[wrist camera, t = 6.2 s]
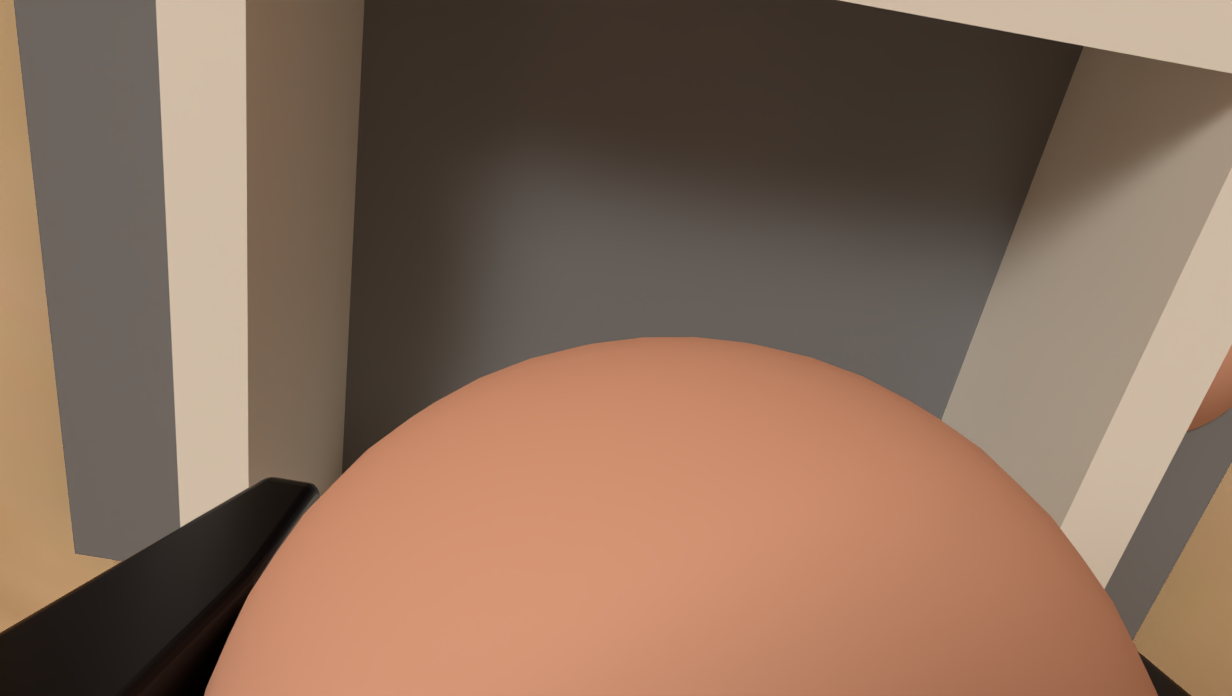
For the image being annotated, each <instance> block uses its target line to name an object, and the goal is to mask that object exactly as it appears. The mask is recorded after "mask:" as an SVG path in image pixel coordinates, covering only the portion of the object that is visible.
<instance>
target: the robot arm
mask: <svg viewBox="0 0 1232 696" xmlns="http://www.w3.org/2000/svg"><path fill="white" fill-rule="evenodd" d="M319 498H320V493H319V490H318V488H317V487H316V486H315V485H314V484H312V483H308V482H302V481H296V480H290V479H284V478H278V477H268V478H265V479H263V480H260V481H259V482H257V483H255V484H254V485H252V486H250V487H248V488H247V489H245V490H243V491H242V492H240V493H238V494H236V495H235V496H233V497H231V498H230V499H228V500H226V501H225V502H223V503H221V504H219V505H218V506H216V507H214V508H213V509H211V510H209V511H207V512H206V513H204V514H202V515H201V516H199V517H197V518H196V519H194V520H192V521H190V522H189V523H187V524H185V525H184V526H182V527H180V528H178V529H177V530H175V531H173V532H172V533H170V534H168V535H167V536H165V537H163V538H161V539H160V540H158V541H156V542H155V543H153V544H151V545H149V546H148V547H146V548H144V549H143V550H141V551H139V552H137V553H136V554H134V555H132V556H131V557H129V558H127V559H126V560H124V561H122V562H120V563H119V564H117V565H115V566H114V567H112V568H110V569H108V570H107V571H105V572H103V573H102V574H100V575H98V576H97V577H95V578H93V579H91V580H90V581H88V582H86V583H85V584H83V585H81V586H79V587H78V588H76V589H74V590H73V591H71V592H69V593H67V594H66V595H64V596H62V597H61V598H59V599H57V600H56V601H54V602H52V603H50V604H49V605H47V606H45V607H44V608H42V609H40V610H38V611H37V612H35V613H33V614H32V615H30V616H28V617H27V618H25V619H23V620H21V621H20V622H18V623H16V624H15V625H13V626H11V627H9V628H8V629H6V630H4V631H3V632H1V633H0V696H204V694H205V690H206V687H207V685H208V683H209V680H210V678H211V676H212V673H213V671H214V669H215V667H216V664H217V662H218V660H219V657H220V655H221V653H222V650H223V648H224V646H225V643H226V641H227V639H228V637H229V635H230V632H231V630H232V628H233V626H234V624H235V622H236V620H237V618H238V616H239V614H240V611H241V609H242V607H243V605H244V603H245V601H246V599H247V597H248V595H249V593H250V592H251V590H252V589H253V587H254V586H255V584H256V583H257V581H258V579H259V578H260V576H261V575H262V573H263V572H264V570H265V569H266V567H267V566H268V564H269V563H270V561H271V560H272V558H273V556H274V555H275V553H276V552H277V551H278V549H279V548H280V546H281V545H282V544H283V542H284V541H285V540H286V538H287V537H288V535H289V534H290V533H291V531H292V530H293V528H294V527H295V526H296V524H297V523H298V522H299V520H300V519H301V517H302V516H303V515H304V513H305V512H306V511H307V510H308V509H309V508H310V507H311V506H312V505H313V504H314V503H315V502H316V501H317V500H318V499H319ZM1138 653H1139V652H1138ZM1139 655H1140V658H1141V660H1142V662H1143V664H1144V666H1145V668H1146V670H1147V673H1148V675H1149V677H1150V679H1151V681H1152V683H1153V685H1154V688H1155V690H1156V692H1157V694H1158V696H1191V695H1189V694H1188V693H1187V692H1186V691H1185V690H1183V689H1182V688H1181V687H1180V686H1179V685H1177V684H1176V683H1175V682H1174V681H1173V680H1171V679H1170V678H1169V677H1168V676H1167V675H1165V674H1164V673H1163V672H1162V671H1161V670H1159V669H1158V668H1157V667H1156V666H1155V665H1153V664H1152V663H1151V662H1150V661H1149V660H1147V659H1146V658H1145V657H1144V656H1143V655H1141V654H1140V653H1139Z"/></svg>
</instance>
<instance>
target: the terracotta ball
mask: <svg viewBox="0 0 1232 696" xmlns="http://www.w3.org/2000/svg"><path fill="white" fill-rule="evenodd" d="M204 696H1158V694H1157V692H1156V690H1155V688H1154V685H1153V683H1152V681H1151V679H1150V677H1149V675H1148V673H1147V670H1146V668H1145V666H1144V664H1143V662H1142V660H1141V658H1140V655H1139V653H1138V651H1137V649H1136V647H1135V645H1134V643H1133V641H1132V639H1131V637H1130V635H1129V633H1128V631H1127V629H1126V627H1125V625H1124V623H1123V621H1122V619H1121V617H1120V615H1119V613H1118V611H1117V609H1116V607H1115V605H1114V603H1113V601H1112V600H1111V598H1110V597H1109V595H1108V594H1107V593H1106V591H1105V590H1104V588H1103V587H1102V585H1101V584H1100V582H1099V581H1098V580H1097V578H1096V577H1095V575H1094V574H1093V572H1092V571H1091V569H1090V568H1089V567H1088V565H1087V564H1086V562H1085V561H1084V559H1083V558H1082V557H1081V555H1080V554H1079V553H1078V551H1077V550H1076V549H1075V547H1074V546H1073V545H1072V543H1071V542H1070V541H1069V539H1068V538H1067V537H1066V535H1065V534H1064V533H1063V531H1062V530H1061V529H1060V527H1059V526H1058V525H1057V523H1056V522H1055V521H1054V519H1053V518H1052V517H1051V516H1050V515H1049V514H1048V513H1047V512H1046V511H1045V510H1044V509H1043V508H1042V507H1041V506H1040V505H1039V504H1038V503H1037V502H1036V501H1035V500H1034V499H1033V498H1032V497H1031V496H1030V495H1029V494H1028V493H1027V492H1026V491H1025V490H1024V489H1023V488H1022V487H1021V486H1020V485H1019V484H1018V483H1017V482H1016V481H1015V480H1014V479H1013V478H1011V477H1010V476H1009V475H1008V474H1007V473H1006V472H1005V471H1004V470H1003V469H1002V468H1001V467H1000V466H999V465H998V464H997V463H996V462H995V461H994V460H993V459H992V458H991V457H990V456H988V455H987V454H986V453H985V452H984V451H983V450H982V449H981V448H979V447H978V446H977V445H975V444H974V443H972V442H971V441H970V440H968V439H967V438H965V437H964V436H962V435H961V434H960V433H958V432H957V431H955V430H954V429H953V428H951V427H950V426H948V425H947V424H946V423H944V422H943V421H941V420H940V419H938V418H937V417H935V416H934V415H932V414H931V413H929V412H927V411H926V410H924V409H922V408H921V407H919V406H918V405H916V404H914V403H913V402H911V401H909V400H908V399H906V398H904V397H902V396H900V395H898V394H896V393H894V392H892V391H890V390H888V389H886V388H884V387H882V386H881V385H879V384H877V383H875V382H873V381H871V380H869V379H867V378H865V377H863V376H861V375H858V374H855V373H853V372H850V371H847V370H844V369H842V368H839V367H836V366H833V365H831V364H828V363H825V362H822V361H820V360H817V359H814V358H811V357H808V356H803V355H799V354H795V353H790V352H786V351H782V350H777V349H773V348H769V347H765V346H760V345H756V344H751V343H745V342H736V341H727V340H718V339H709V338H700V337H642V338H634V339H625V340H617V341H609V342H601V343H593V344H588V345H583V346H579V347H575V348H571V349H567V350H563V351H559V352H555V353H551V354H547V355H543V356H539V357H535V358H531V359H528V360H525V361H523V362H520V363H517V364H515V365H512V366H509V367H507V368H504V369H502V370H499V371H496V372H494V373H491V374H488V375H486V376H483V377H481V378H479V379H477V380H475V381H473V382H471V383H469V384H467V385H466V386H464V387H462V388H460V389H458V390H456V391H455V392H453V393H451V394H449V395H447V396H445V397H443V398H442V399H440V400H438V401H436V402H434V403H433V404H431V405H430V406H428V407H427V408H425V409H424V410H422V411H420V412H419V413H417V414H416V415H414V416H413V417H411V418H410V419H408V420H407V421H406V422H404V423H403V424H402V425H400V426H399V427H397V428H396V429H395V430H393V431H392V432H391V433H389V434H388V435H387V436H385V437H384V438H382V439H381V440H380V441H378V442H377V443H376V444H374V445H373V446H372V447H370V448H369V449H368V450H367V451H365V452H364V453H363V454H362V455H361V456H360V457H359V458H358V459H357V460H356V461H355V462H354V463H353V464H352V465H351V466H350V467H349V468H348V469H347V470H346V471H345V472H344V473H343V474H342V475H341V476H340V477H339V478H338V479H337V480H336V481H335V482H334V483H333V484H332V485H331V486H330V487H329V489H328V490H327V491H326V492H325V493H324V494H323V495H322V496H321V497H320V498H319V499H318V500H317V501H316V502H315V503H314V504H313V505H312V506H311V507H310V508H309V509H308V510H307V511H306V512H305V513H304V515H303V516H302V517H301V519H300V520H299V522H298V523H297V524H296V526H295V527H294V528H293V530H292V531H291V533H290V534H289V535H288V537H287V538H286V540H285V541H284V542H283V544H282V545H281V546H280V548H279V549H278V551H277V552H276V553H275V555H274V556H273V558H272V560H271V561H270V563H269V564H268V566H267V567H266V569H265V570H264V572H263V573H262V575H261V576H260V578H259V579H258V581H257V583H256V584H255V586H254V587H253V589H252V590H251V592H250V593H249V595H248V597H247V599H246V601H245V603H244V605H243V607H242V609H241V611H240V614H239V616H238V618H237V620H236V622H235V624H234V626H233V628H232V630H231V632H230V635H229V637H228V639H227V641H226V643H225V646H224V648H223V650H222V653H221V655H220V657H219V660H218V662H217V664H216V667H215V669H214V671H213V673H212V676H211V678H210V680H209V683H208V685H207V687H206V690H205V694H204Z"/></svg>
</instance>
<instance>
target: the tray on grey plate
mask: <svg viewBox="0 0 1232 696" xmlns="http://www.w3.org/2000/svg"><path fill="white" fill-rule="evenodd" d="M14 8H15V17H16V26H17V35H18V44H19V53H20V62H21V71H22V80H23V89H24V98H25V107H26V116H27V125H28V134H29V143H30V152H31V161H32V170H33V179H34V188H35V197H36V206H37V215H38V224H39V233H40V242H41V251H42V260H43V269H44V278H45V287H46V297H47V306H48V315H49V324H50V333H51V342H52V351H53V360H54V369H55V378H56V387H57V396H58V405H59V414H60V423H61V432H62V441H63V450H64V459H65V468H66V477H67V486H68V495H69V504H70V513H71V522H72V531H73V540H74V549H75V554H81V555H87V556H94V557H100V558H106V559H112V560H118V561H124V560H126V559H127V558H129V557H131V556H132V555H134V554H136V553H137V552H139V551H141V550H143V549H144V548H146V547H148V546H149V545H151V544H153V543H155V542H156V541H158V540H160V539H161V538H163V537H165V536H167V535H168V534H170V533H172V532H173V531H175V530H177V529H178V528H180V527H182V526H184V525H185V524H187V523H189V522H190V521H192V520H194V519H196V518H197V517H199V516H201V515H202V514H204V513H206V512H207V511H209V510H211V509H213V508H214V507H216V506H218V505H219V504H221V503H223V502H225V501H226V500H228V499H230V498H231V497H233V496H235V495H236V494H238V493H240V492H242V491H243V490H245V489H247V488H248V487H250V486H252V485H254V484H255V483H257V482H259V481H260V480H263V479H265V478H268V477H278V478H284V479H290V480H296V481H302V482H308V483H312V484H314V485H315V486H316V487H317V488H318V490H319V493H320V497H321V496H322V495H323V494H324V493H325V492H326V491H327V490H328V489H329V487H330V486H331V485H332V484H333V483H334V482H335V481H336V480H337V479H338V478H339V477H340V476H341V475H342V474H343V473H344V472H345V471H346V470H347V469H348V468H349V467H350V466H351V465H352V464H353V463H354V462H355V461H356V460H357V459H358V458H359V457H360V456H361V455H362V454H363V453H364V452H365V451H367V450H368V449H369V448H370V447H372V446H373V445H374V444H376V443H377V442H378V441H380V440H381V439H382V438H384V437H385V436H387V435H388V434H389V433H391V432H392V431H393V430H395V429H396V428H397V427H399V426H400V425H402V424H403V423H404V422H406V421H407V420H408V419H410V418H411V417H413V416H414V415H416V414H417V413H419V412H420V411H422V410H424V409H425V408H427V407H428V406H430V405H431V404H433V403H434V402H436V401H438V400H440V399H442V398H443V397H445V396H447V395H449V394H451V393H453V392H455V391H456V390H458V389H460V388H462V387H464V386H466V385H467V384H469V383H471V382H473V381H475V380H477V379H479V378H481V377H483V376H486V375H488V374H491V373H494V372H496V371H499V370H502V369H504V368H507V367H509V366H512V365H515V364H517V363H520V362H523V361H525V360H528V359H531V358H535V357H539V356H543V355H547V354H551V353H555V352H559V351H563V350H567V349H571V348H575V347H579V346H583V345H588V344H593V343H601V342H609V341H617V340H625V339H634V338H642V337H700V338H709V339H718V340H727V341H736V342H745V343H751V344H756V345H760V346H765V347H769V348H773V349H777V350H782V351H786V352H790V353H795V354H799V355H803V356H808V357H811V358H814V359H817V360H820V361H822V362H825V363H828V364H831V365H833V366H836V367H839V368H842V369H844V370H847V371H850V372H853V373H855V374H858V375H861V376H863V377H865V378H867V379H869V380H871V381H873V382H875V383H877V384H879V385H881V386H882V387H884V388H886V389H888V390H890V391H892V392H894V393H896V394H898V395H900V396H902V397H904V398H906V399H908V400H909V401H911V402H913V403H914V404H916V405H918V406H919V407H921V408H922V409H924V410H926V411H927V412H929V413H931V414H932V415H934V416H935V417H937V418H938V419H940V420H941V421H943V422H944V423H946V424H947V425H948V426H950V427H951V428H953V429H954V430H955V431H957V432H958V433H960V434H961V435H962V436H964V437H965V438H967V439H968V440H970V441H971V442H972V443H974V444H975V445H977V446H978V447H979V448H981V449H982V450H983V451H984V452H985V453H986V454H987V455H988V456H990V457H991V458H992V459H993V460H994V461H995V462H996V463H997V464H998V465H999V466H1000V467H1001V468H1002V469H1003V470H1004V471H1005V472H1006V473H1007V474H1008V475H1009V476H1010V477H1011V478H1013V479H1014V480H1015V481H1016V482H1017V483H1018V484H1019V485H1020V486H1021V487H1022V488H1023V489H1024V490H1025V491H1026V492H1027V493H1028V494H1029V495H1030V496H1031V497H1032V498H1033V499H1034V500H1035V501H1036V502H1037V503H1038V504H1039V505H1040V506H1041V507H1042V508H1043V509H1044V510H1045V511H1046V512H1047V513H1048V514H1049V515H1050V516H1051V517H1052V518H1053V519H1054V521H1055V522H1056V523H1057V525H1058V526H1059V527H1060V529H1061V530H1062V531H1063V533H1064V534H1065V535H1066V537H1067V538H1068V539H1069V541H1070V542H1071V543H1072V545H1073V546H1074V547H1075V549H1076V550H1077V551H1078V553H1079V554H1080V555H1081V557H1082V558H1083V559H1084V561H1085V562H1086V564H1087V565H1088V567H1089V568H1090V569H1091V571H1092V572H1093V574H1094V575H1095V577H1096V578H1097V580H1098V581H1099V582H1100V584H1101V585H1102V587H1103V588H1104V590H1105V591H1106V593H1107V594H1108V595H1109V597H1110V598H1111V600H1112V601H1113V603H1114V605H1115V607H1116V609H1117V611H1118V613H1119V615H1120V617H1121V619H1122V621H1123V623H1124V625H1125V627H1126V629H1127V631H1128V633H1129V635H1130V637H1131V639H1132V641H1133V639H1134V637H1135V635H1136V633H1137V632H1138V630H1139V628H1140V626H1141V624H1142V623H1143V621H1144V619H1145V617H1146V615H1147V614H1148V612H1149V610H1150V608H1151V606H1152V605H1153V603H1154V601H1155V599H1156V597H1157V596H1158V594H1159V592H1160V590H1161V588H1162V587H1163V585H1164V583H1165V581H1166V579H1167V578H1168V576H1169V574H1170V572H1171V570H1172V569H1173V567H1174V565H1175V563H1176V561H1177V560H1178V558H1179V556H1180V554H1181V552H1182V551H1183V549H1184V547H1185V545H1186V543H1187V542H1188V540H1189V538H1190V536H1191V534H1192V533H1193V531H1194V529H1195V527H1196V525H1197V524H1198V522H1199V520H1200V518H1201V516H1202V515H1203V513H1204V511H1205V509H1206V507H1207V506H1208V504H1209V502H1210V500H1211V498H1212V497H1213V495H1214V493H1215V491H1216V489H1217V488H1218V486H1219V484H1220V482H1221V480H1222V479H1223V477H1224V475H1225V473H1226V471H1227V470H1228V468H1229V466H1230V464H1231V462H1232V0H14Z"/></svg>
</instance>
